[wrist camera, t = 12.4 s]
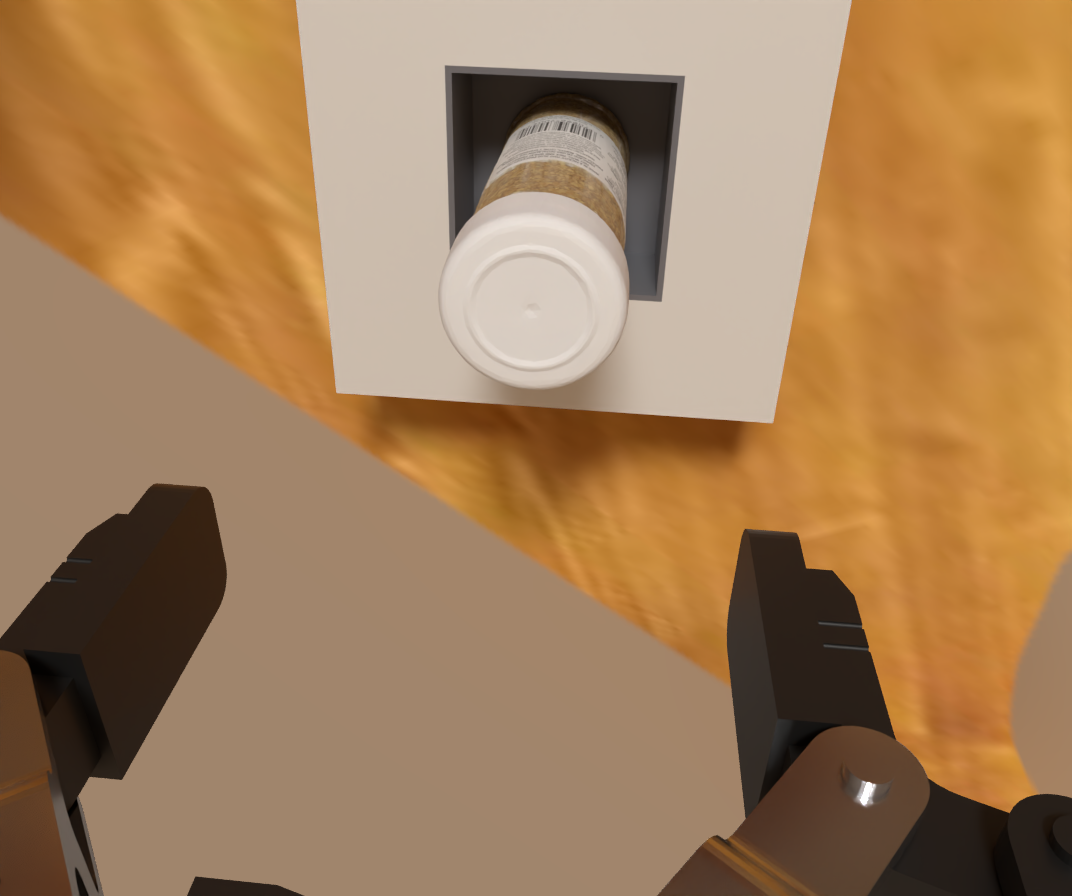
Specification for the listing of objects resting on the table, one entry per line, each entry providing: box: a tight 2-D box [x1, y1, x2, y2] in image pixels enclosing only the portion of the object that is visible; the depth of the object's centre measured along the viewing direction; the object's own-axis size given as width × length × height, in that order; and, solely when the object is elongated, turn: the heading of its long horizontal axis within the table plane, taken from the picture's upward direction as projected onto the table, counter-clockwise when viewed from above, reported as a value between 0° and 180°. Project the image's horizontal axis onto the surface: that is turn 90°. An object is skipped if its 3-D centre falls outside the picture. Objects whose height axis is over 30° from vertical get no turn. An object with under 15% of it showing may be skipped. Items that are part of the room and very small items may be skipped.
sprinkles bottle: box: [438, 93, 630, 390], centre depth 27 cm, size 5×5×13 cm
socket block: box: [296, 0, 852, 423], centre depth 32 cm, size 16×16×5 cm
